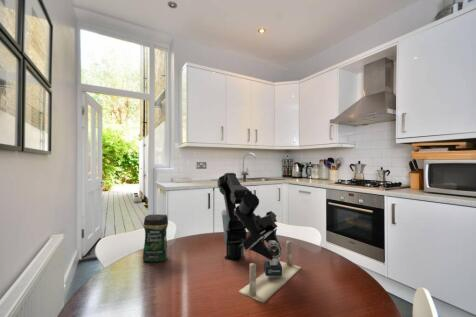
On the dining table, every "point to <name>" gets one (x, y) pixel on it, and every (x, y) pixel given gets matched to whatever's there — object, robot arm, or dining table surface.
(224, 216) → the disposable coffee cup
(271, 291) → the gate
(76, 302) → the dining table surface
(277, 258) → the watch
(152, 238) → the coffee jar
